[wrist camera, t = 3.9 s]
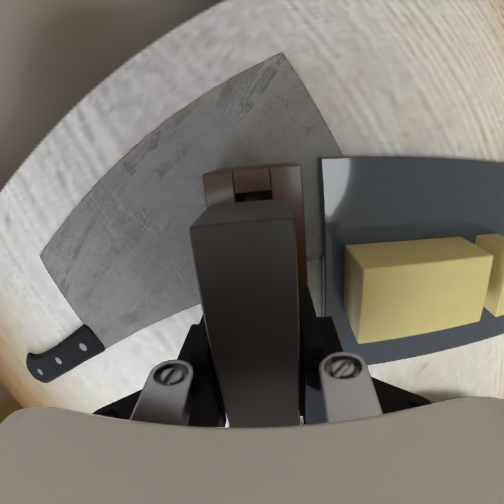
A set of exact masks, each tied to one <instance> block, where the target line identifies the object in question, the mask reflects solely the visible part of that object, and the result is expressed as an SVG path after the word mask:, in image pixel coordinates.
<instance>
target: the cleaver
mask: <svg viewBox="0 0 504 504" xmlns="http://www.w3.org/2000/svg"><path fill="white" fill-rule="evenodd" d="M331 156H343V155H342V153H341V151H340V149H339V147H338V145H337V143H336V141H335V139H334V137H333V136H332V134H331V132H330V130H329V128H328V126H327V124H326V123H325V121H324V119H323V117H322V115H321V114H320V112H319V110H318V108H317V107H316V105H315V103H314V101H313V100H312V98H311V96H310V95H309V93H308V91H307V90H306V88H305V86H304V85H303V83H302V81H301V80H300V78H299V76H298V75H297V73H296V72H295V70H294V69H293V67H292V66H291V64H290V63H289V61H288V60H287V58H286V57H285V55H284V54H283V53H280V54H278V55H276V56H274V57H272V58H270V59H268V60H266V61H264V62H262V63H260V64H258V65H256V66H254V67H252V68H250V69H248V70H246V71H244V72H242V73H241V74H239V75H237V76H235V77H233V78H231V79H230V80H228V81H226V82H224V83H223V84H221V85H219V86H218V87H216V88H214V89H212V90H211V91H209V92H207V93H206V94H204V95H203V96H201V97H200V98H198V99H197V100H195V101H194V102H192V103H191V104H189V105H188V106H187V107H185V108H184V109H182V110H181V111H180V112H178V113H177V114H176V115H174V116H173V117H171V118H170V119H169V120H167V121H166V122H165V123H163V124H162V125H161V126H160V127H158V128H157V129H156V130H154V131H153V132H152V133H151V134H149V135H148V136H147V137H146V138H144V139H143V140H142V141H141V142H140V143H139V144H138V145H137V146H135V147H134V148H133V149H132V150H131V151H130V152H129V153H128V154H127V155H126V156H125V157H123V158H122V159H121V160H120V161H119V162H118V163H117V164H116V165H115V166H114V167H113V168H112V169H111V170H110V171H109V172H108V173H107V174H106V175H105V176H104V177H103V178H102V179H101V180H100V181H99V182H98V183H97V184H96V185H95V186H94V187H93V188H92V190H91V191H90V192H89V193H88V194H87V195H86V196H85V197H84V199H83V200H82V201H81V202H80V203H79V204H78V206H77V207H76V208H75V209H74V211H73V212H72V213H71V214H70V216H69V217H68V218H67V219H66V221H65V222H64V223H63V225H62V226H61V227H60V228H59V230H58V231H57V232H56V234H55V235H54V236H53V238H52V239H51V241H50V242H49V243H48V244H47V246H46V247H45V249H44V250H43V251H42V253H41V254H40V255H39V256H40V258H41V260H42V262H43V264H44V266H45V268H46V269H47V271H48V273H49V274H50V276H51V277H52V279H53V281H54V282H55V284H56V285H57V287H58V288H59V290H60V291H61V293H62V294H63V296H64V297H65V299H66V300H67V302H68V303H69V304H70V306H71V307H72V309H73V310H74V311H75V313H76V314H77V316H78V317H79V318H80V320H81V321H82V322H83V324H84V325H83V326H82V327H80V328H79V329H78V330H76V331H75V332H74V333H73V334H71V335H70V336H69V337H67V338H66V339H65V340H63V341H62V342H61V343H59V344H58V345H57V346H55V347H54V348H52V349H50V350H49V351H47V352H44V353H42V354H38V355H34V354H32V353H29V354H28V355H27V361H26V364H27V368H28V370H29V371H30V373H31V374H32V376H33V377H34V378H36V379H37V380H39V381H41V382H43V383H48V382H50V381H52V380H54V379H56V378H57V377H59V376H61V375H62V374H64V373H66V372H68V371H70V370H71V369H73V368H74V367H76V366H78V365H79V364H81V363H83V362H84V361H86V360H88V359H90V358H92V357H94V356H96V355H98V354H99V353H101V352H103V351H104V350H105V349H106V348H107V347H109V346H111V345H113V344H115V343H117V342H119V341H121V340H122V339H124V338H126V337H128V336H130V335H132V334H133V333H135V332H137V331H139V330H141V329H143V328H145V327H147V326H149V325H151V324H153V323H156V322H158V321H160V320H162V319H165V318H167V317H169V316H171V315H173V314H176V313H178V312H180V311H182V310H185V309H187V308H190V307H192V306H195V305H197V304H200V303H201V299H200V294H199V288H198V283H197V277H196V271H195V265H194V259H193V253H192V247H191V241H190V234H189V227H190V226H191V225H192V224H193V223H194V222H195V220H196V219H197V218H198V217H199V216H200V215H201V214H202V213H203V212H204V211H205V210H206V202H205V194H204V186H203V178H202V174H204V173H207V172H210V171H213V170H217V169H226V168H236V167H245V166H256V165H270V164H280V163H296V164H299V165H301V171H302V184H303V199H304V215H305V234H306V256H307V261H310V260H313V259H315V258H318V257H321V256H322V227H321V205H320V187H319V172H318V157H331ZM248 193H249V192H246V193H242V198H243V202H245V201H246V198H247V195H248ZM258 193H259V201H260V200H272V191H271V190H269V191H258Z"/></svg>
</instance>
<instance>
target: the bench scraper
mask: <svg viewBox="0 0 504 504" xmlns="http://www.w3.org/2000/svg"><path fill="white" fill-rule="evenodd" d="M189 234H190V241H191V247H192V253H193V259H194V265H195V271H196V277H197V283H198V288H199V294H200V299H201V305H202V310H203V315H204V320H205V325H206V330H207V335H208V340H209V345H210V350H211V354H212V359H213V364H214V368H215V373H216V377H217V382H218V386H219V390H220V395H221V399H222V403H223V407H224V411H225V415H226V419H227V423H228V427H229V428H257V427H282V426H297V425H300V327H299V294H298V269H297V248H296V230H295V219H294V217H293V215H292V213H291V211H290V209H289V207H288V204H287V202H286V200H285V199H272V200H260V201H259V193H258V191H257V192H249V193H248V195H247V198H246V201H245V202H238V203H228V204H218V205H210V206H209V207H208V208H207V209H206V210H205V211H204V212H203V213H202V214H201V215H200V216H199V217H198V218H197V219H196V220H195V222H194V223H193V224H192V225H191V226H190V227H189Z"/></svg>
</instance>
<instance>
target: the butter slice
mask: <svg viewBox="0 0 504 504" xmlns="http://www.w3.org/2000/svg"><path fill="white" fill-rule="evenodd" d="M475 245H476V246H478V247H480V248H482V249H483V250H485V251H487V252H489V253H490V254H492V255H493V261H492V267H491V273H490V278H489V283H488V288H487V293H486V297H485V302H484V307H485V308H486V309H487V310H488V311H489V312H491V313H492V314H493V315H494V316H495V317H498V316H501V315H504V236H502V235H500V234H498V233H497V234H484V235H476V240H475Z"/></svg>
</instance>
